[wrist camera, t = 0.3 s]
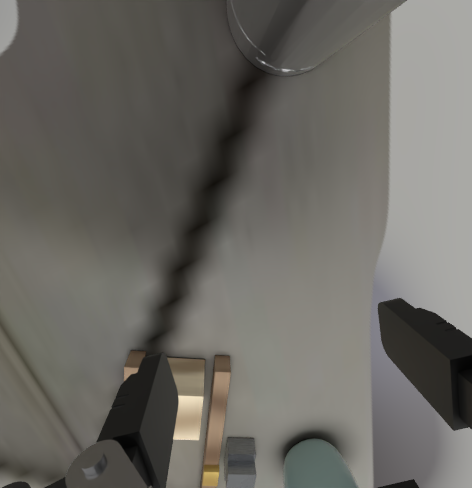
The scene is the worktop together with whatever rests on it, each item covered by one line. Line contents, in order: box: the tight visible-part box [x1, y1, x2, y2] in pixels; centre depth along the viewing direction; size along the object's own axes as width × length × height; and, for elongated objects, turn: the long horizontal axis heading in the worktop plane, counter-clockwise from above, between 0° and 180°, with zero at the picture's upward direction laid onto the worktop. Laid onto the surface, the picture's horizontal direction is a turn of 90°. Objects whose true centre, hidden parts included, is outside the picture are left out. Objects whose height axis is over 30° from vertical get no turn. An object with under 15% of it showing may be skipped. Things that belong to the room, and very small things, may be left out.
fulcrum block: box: [224, 438, 256, 488], centre depth 35 cm, size 4×3×4 cm
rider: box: [167, 358, 205, 440], centre depth 31 cm, size 5×5×5 cm
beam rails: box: [124, 351, 231, 488], centre depth 34 cm, size 22×10×3 cm, turn 173°
